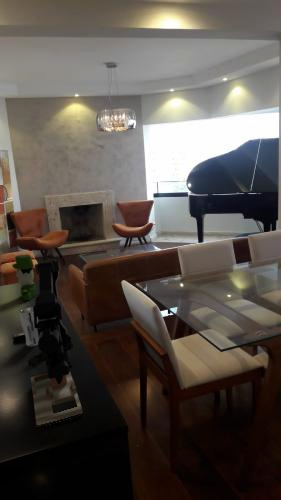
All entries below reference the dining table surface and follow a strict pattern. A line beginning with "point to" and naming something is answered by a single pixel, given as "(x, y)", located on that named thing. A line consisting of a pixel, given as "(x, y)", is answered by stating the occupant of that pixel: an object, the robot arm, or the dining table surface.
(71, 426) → the dining table surface
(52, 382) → the red block
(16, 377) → the dining table surface
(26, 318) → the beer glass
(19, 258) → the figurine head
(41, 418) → the deck
